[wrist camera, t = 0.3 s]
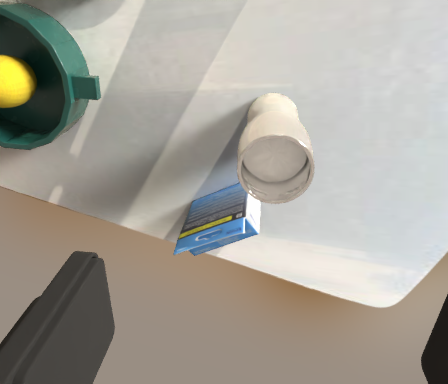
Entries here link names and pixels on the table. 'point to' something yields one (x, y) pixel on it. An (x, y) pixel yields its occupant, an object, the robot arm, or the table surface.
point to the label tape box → (219, 220)
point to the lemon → (15, 81)
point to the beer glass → (274, 151)
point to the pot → (43, 77)
